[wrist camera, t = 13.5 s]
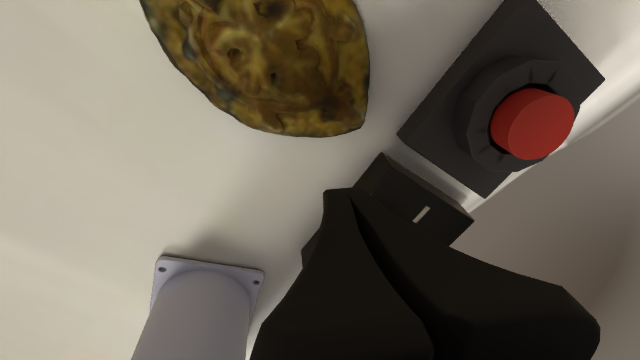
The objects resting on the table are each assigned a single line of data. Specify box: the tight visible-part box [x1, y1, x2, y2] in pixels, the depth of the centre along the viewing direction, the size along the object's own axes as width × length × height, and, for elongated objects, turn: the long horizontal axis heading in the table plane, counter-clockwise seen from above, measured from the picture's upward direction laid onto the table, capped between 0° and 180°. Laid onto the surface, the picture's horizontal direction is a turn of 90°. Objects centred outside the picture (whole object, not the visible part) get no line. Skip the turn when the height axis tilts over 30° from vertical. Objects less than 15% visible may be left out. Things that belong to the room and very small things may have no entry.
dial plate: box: [301, 153, 474, 267], centre depth 24 cm, size 10×8×3 cm
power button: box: [490, 88, 574, 160], centre depth 18 cm, size 4×4×2 cm
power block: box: [397, 0, 605, 199], centre depth 20 cm, size 10×8×4 cm
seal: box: [140, 0, 370, 138], centre depth 16 cm, size 9×5×15 cm
